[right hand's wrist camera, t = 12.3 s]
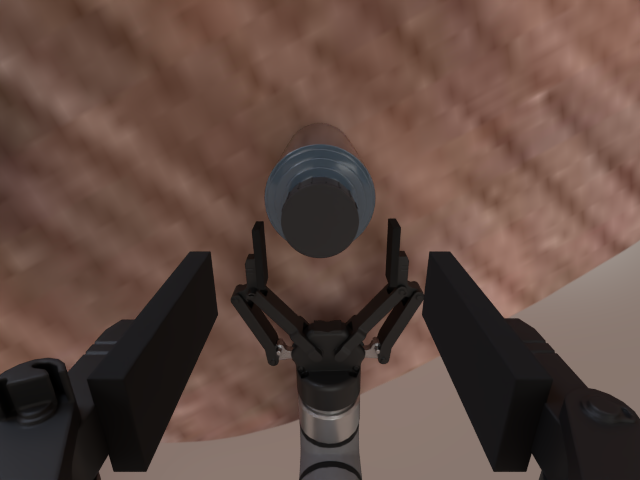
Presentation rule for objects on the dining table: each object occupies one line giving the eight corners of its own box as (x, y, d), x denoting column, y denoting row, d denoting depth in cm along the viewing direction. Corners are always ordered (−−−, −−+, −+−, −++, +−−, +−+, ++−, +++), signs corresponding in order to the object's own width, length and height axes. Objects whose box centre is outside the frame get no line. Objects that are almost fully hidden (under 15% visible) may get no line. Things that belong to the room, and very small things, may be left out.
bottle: (323, 204, 43) (326, 300, 23) (272, 161, 41) (228, 226, 21) (368, 154, 40) (412, 213, 21) (316, 107, 39) (312, 124, 19)
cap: (323, 259, 24) (323, 273, 22) (267, 216, 23) (263, 226, 21) (371, 208, 22) (376, 219, 21) (315, 160, 21) (315, 166, 20)
